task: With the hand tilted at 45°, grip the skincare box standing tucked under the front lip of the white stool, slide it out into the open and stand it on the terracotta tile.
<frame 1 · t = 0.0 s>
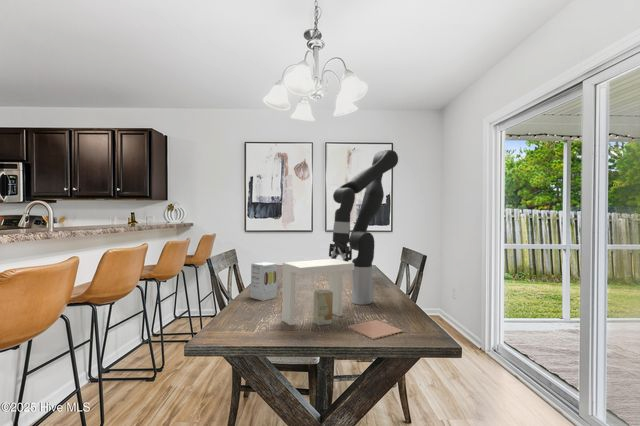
hand: (339, 268, 155), 17 cm above the table, tool pointing down, fingers open, 8 cm apart
white stool: (318, 320, 135), on the table
supplement box: (263, 298, 170), on the table
skincare box: (322, 323, 132), on the table
terracotta tile: (374, 329, 125), on the table
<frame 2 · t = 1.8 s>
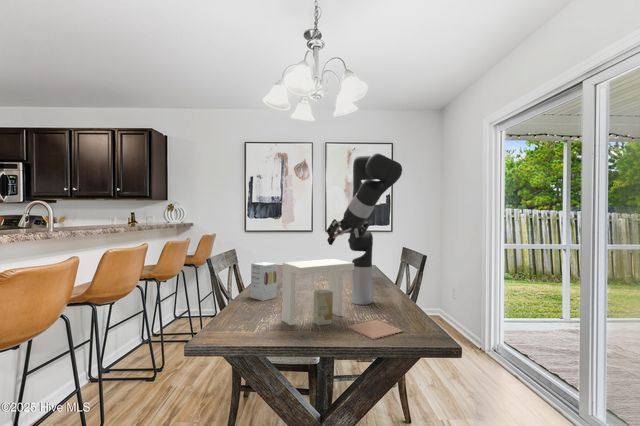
hand: (339, 242, 122), 32 cm above the table, tool tilted 45°, fingers open, 8 cm apart
nothing on the table moved.
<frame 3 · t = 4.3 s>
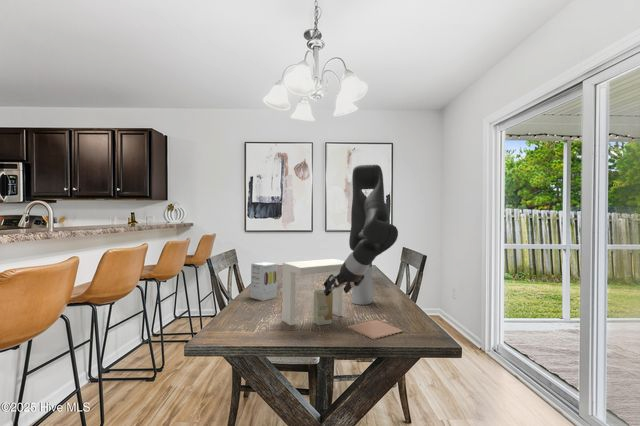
hand: (335, 292, 125), 13 cm above the table, tool tilted 45°, fingers open, 8 cm apart
nothing on the table moved.
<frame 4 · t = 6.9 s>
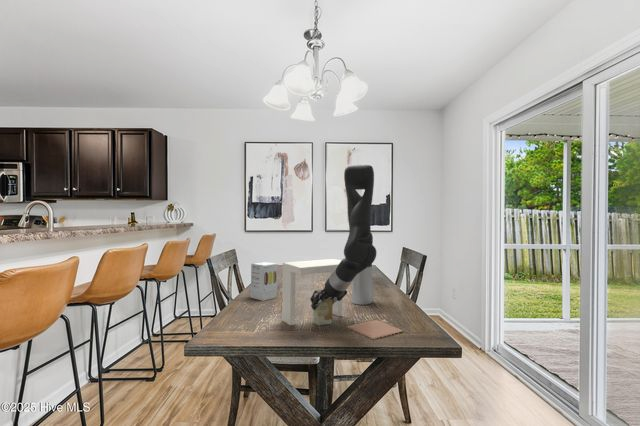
hand: (320, 306, 133), 6 cm above the table, tool tilted 45°, fingers closed on skincare box, 6 cm apart
skincare box: (322, 323, 132), on the table, touching gripper
everything else where it was.
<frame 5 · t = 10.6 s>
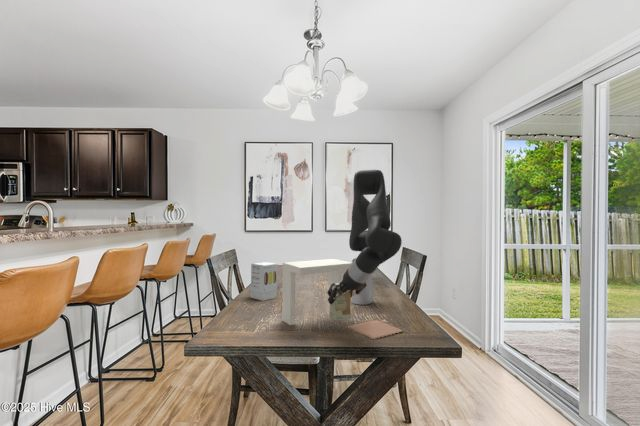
hand: (337, 300, 124), 11 cm above the table, tool tilted 45°, fingers closed on skincare box, 6 cm apart
skincare box: (340, 318, 123), point 5 cm above the table, touching gripper
everything else where it was.
when the fingers open (8 cm above the table, at t = 14.7 s): skincare box drops 1 cm, resting on terracotta tile.
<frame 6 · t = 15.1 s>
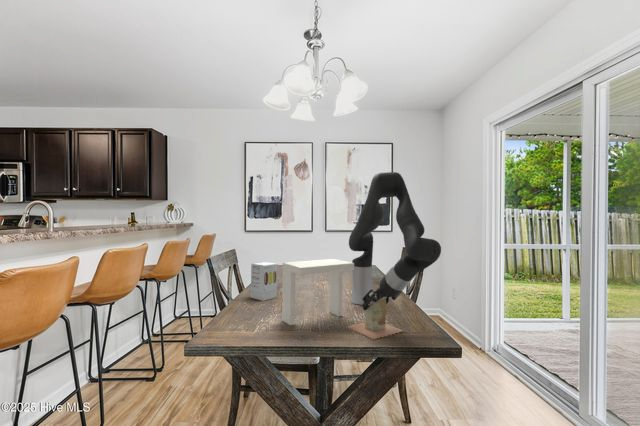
hand: (372, 306, 126), 8 cm above the table, tool tilted 45°, fingers open, 8 cm apart
skincare box: (375, 328, 125), resting on terracotta tile
everything else where it was.
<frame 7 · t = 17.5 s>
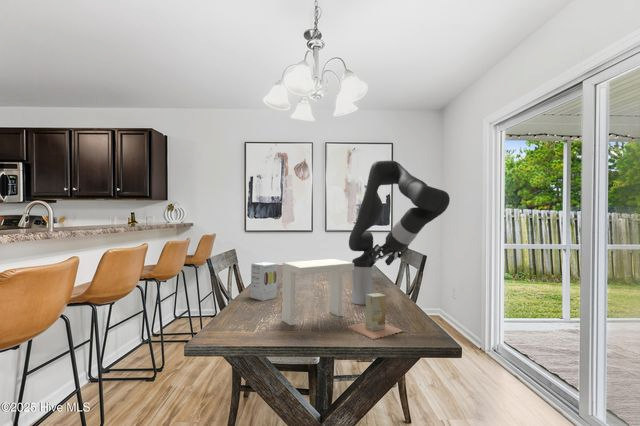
hand: (377, 264, 124), 24 cm above the table, tool tilted 45°, fingers open, 8 cm apart
nothing on the table moved.
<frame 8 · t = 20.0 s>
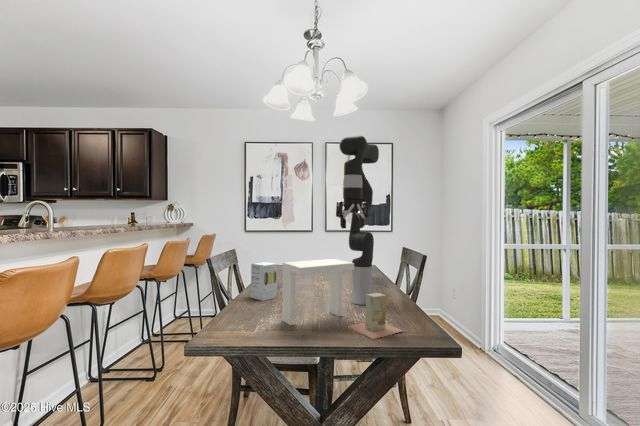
hand: (352, 228, 137), 36 cm above the table, tool pointing down, fingers open, 8 cm apart
nothing on the table moved.
at the end: skincare box inside the target area on the terracotta tile (0.2 cm from its centre), point 0.4 cm above the terracotta tile's base; skincare box tilted 0°; the gripper is holding nothing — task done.
